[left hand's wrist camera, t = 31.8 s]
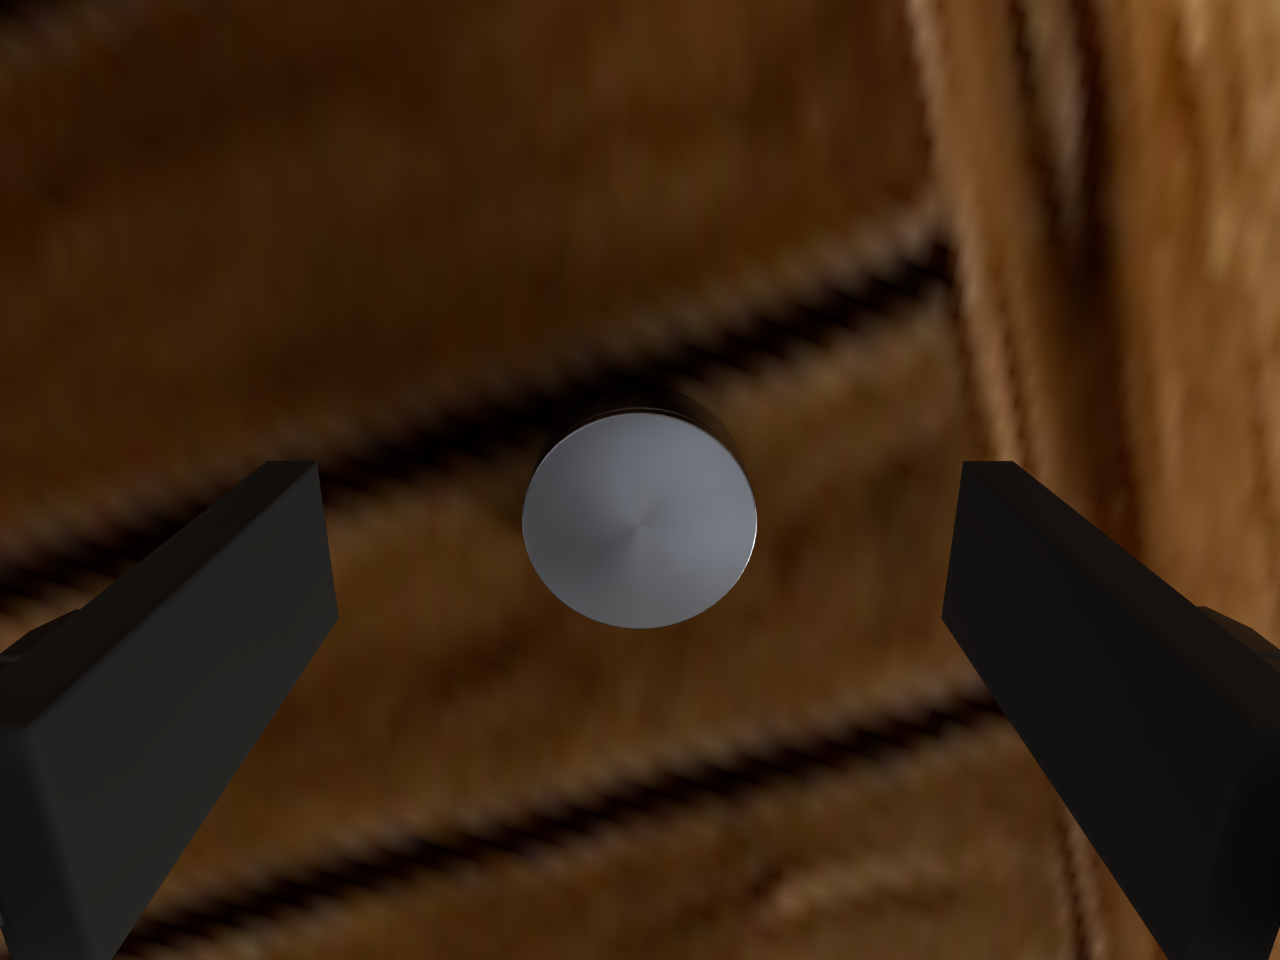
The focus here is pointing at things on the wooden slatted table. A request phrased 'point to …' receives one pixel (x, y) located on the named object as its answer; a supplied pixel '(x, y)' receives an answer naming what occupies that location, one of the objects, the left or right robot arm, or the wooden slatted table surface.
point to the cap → (639, 509)
